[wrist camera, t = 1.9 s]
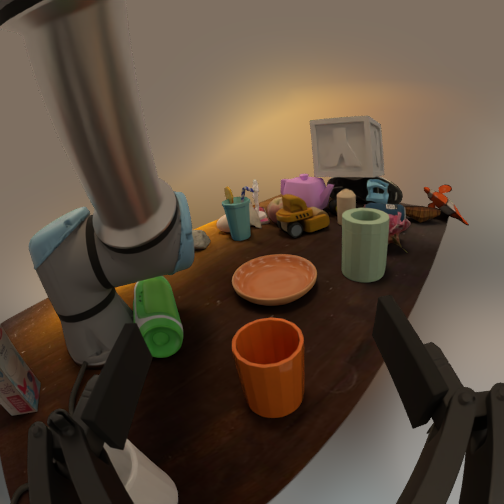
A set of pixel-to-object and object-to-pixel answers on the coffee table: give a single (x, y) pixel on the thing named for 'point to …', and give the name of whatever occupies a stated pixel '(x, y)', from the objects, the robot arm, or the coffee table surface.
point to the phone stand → (377, 196)
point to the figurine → (255, 197)
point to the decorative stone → (200, 239)
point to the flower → (396, 228)
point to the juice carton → (16, 380)
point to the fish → (443, 202)
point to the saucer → (274, 279)
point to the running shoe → (364, 188)
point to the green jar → (364, 244)
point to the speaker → (157, 316)
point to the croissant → (421, 212)
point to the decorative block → (347, 147)
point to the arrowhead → (254, 216)
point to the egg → (223, 224)
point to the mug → (142, 476)
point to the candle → (345, 203)
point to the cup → (238, 214)
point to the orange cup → (270, 366)
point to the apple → (274, 208)
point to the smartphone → (265, 220)
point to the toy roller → (300, 216)
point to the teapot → (308, 190)
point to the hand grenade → (333, 206)
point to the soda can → (388, 209)
